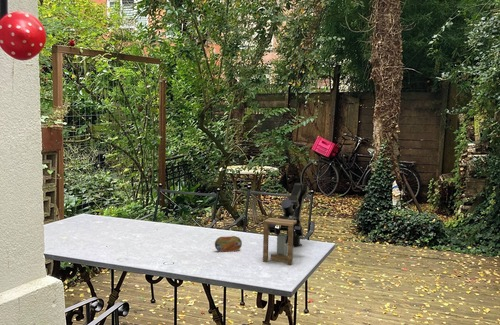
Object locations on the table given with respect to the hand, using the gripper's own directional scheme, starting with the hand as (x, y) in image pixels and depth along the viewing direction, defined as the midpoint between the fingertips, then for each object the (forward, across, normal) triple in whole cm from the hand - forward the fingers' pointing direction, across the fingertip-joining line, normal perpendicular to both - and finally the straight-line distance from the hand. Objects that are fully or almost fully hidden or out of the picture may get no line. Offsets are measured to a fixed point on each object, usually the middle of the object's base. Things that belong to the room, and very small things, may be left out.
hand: (282, 243), depth 244 cm
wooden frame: (+9, 0, +3) cm, 10 cm away
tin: (+5, -31, +7) cm, 32 cm away
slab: (+4, 0, +5) cm, 7 cm away
